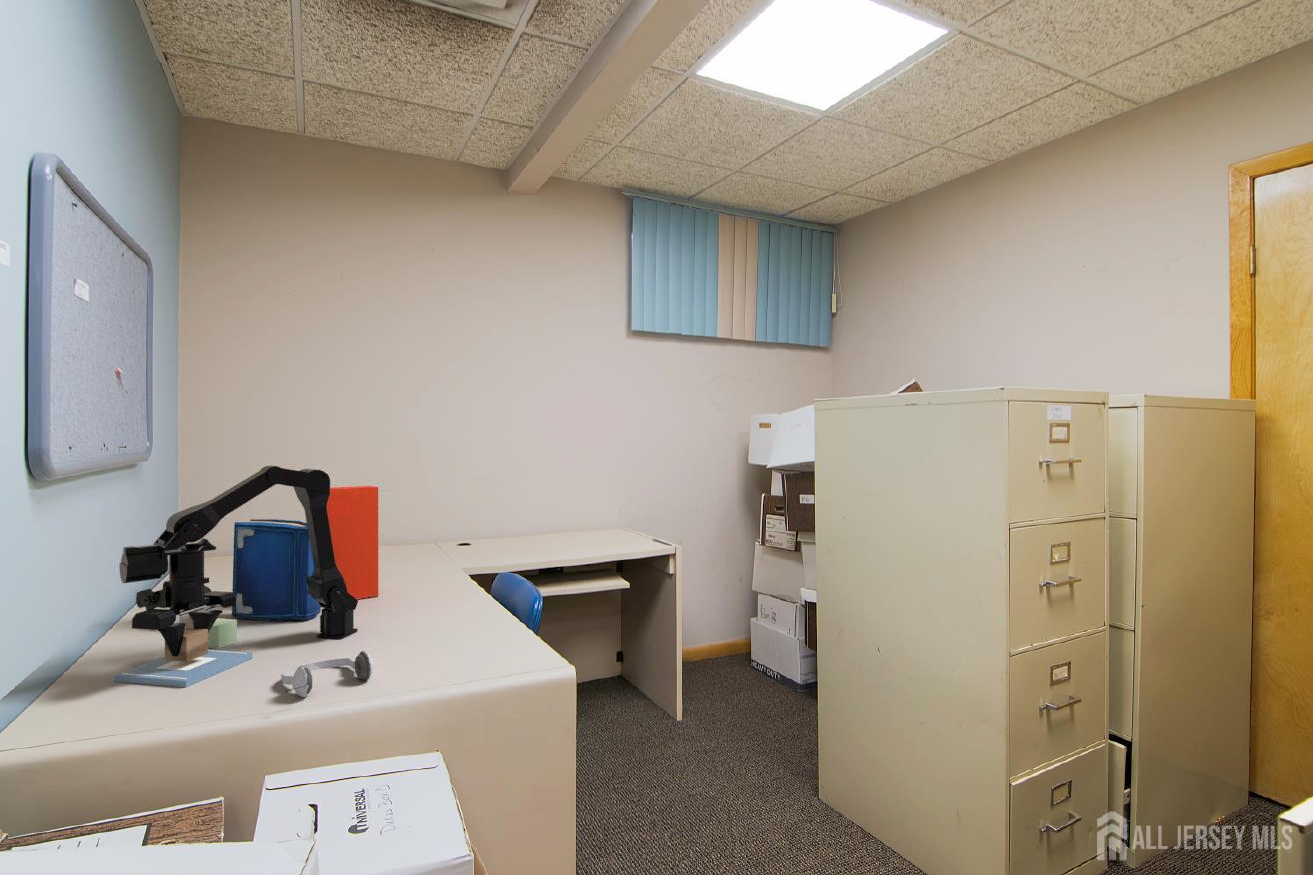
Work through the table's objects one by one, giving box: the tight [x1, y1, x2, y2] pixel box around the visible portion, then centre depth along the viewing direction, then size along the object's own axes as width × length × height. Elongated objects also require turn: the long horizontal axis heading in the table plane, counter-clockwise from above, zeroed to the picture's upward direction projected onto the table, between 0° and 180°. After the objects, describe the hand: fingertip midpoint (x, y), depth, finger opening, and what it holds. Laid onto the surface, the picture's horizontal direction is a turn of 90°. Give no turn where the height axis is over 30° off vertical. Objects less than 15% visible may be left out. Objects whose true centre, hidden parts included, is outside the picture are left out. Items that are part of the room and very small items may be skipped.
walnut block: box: [164, 627, 209, 662], centre depth 132 cm, size 5×5×5 cm
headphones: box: [280, 650, 374, 698], centre depth 124 cm, size 17×6×20 cm
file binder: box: [305, 485, 379, 600], centre depth 188 cm, size 8×17×32 cm, turn 131°
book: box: [231, 518, 322, 622], centre depth 169 cm, size 22×7×25 cm, turn 84°
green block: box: [208, 618, 238, 649], centre depth 148 cm, size 5×5×5 cm
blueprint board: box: [113, 649, 254, 688], centre depth 132 cm, size 16×16×1 cm
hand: (187, 651), depth 132 cm, fingers closed on walnut block, 5 cm apart
